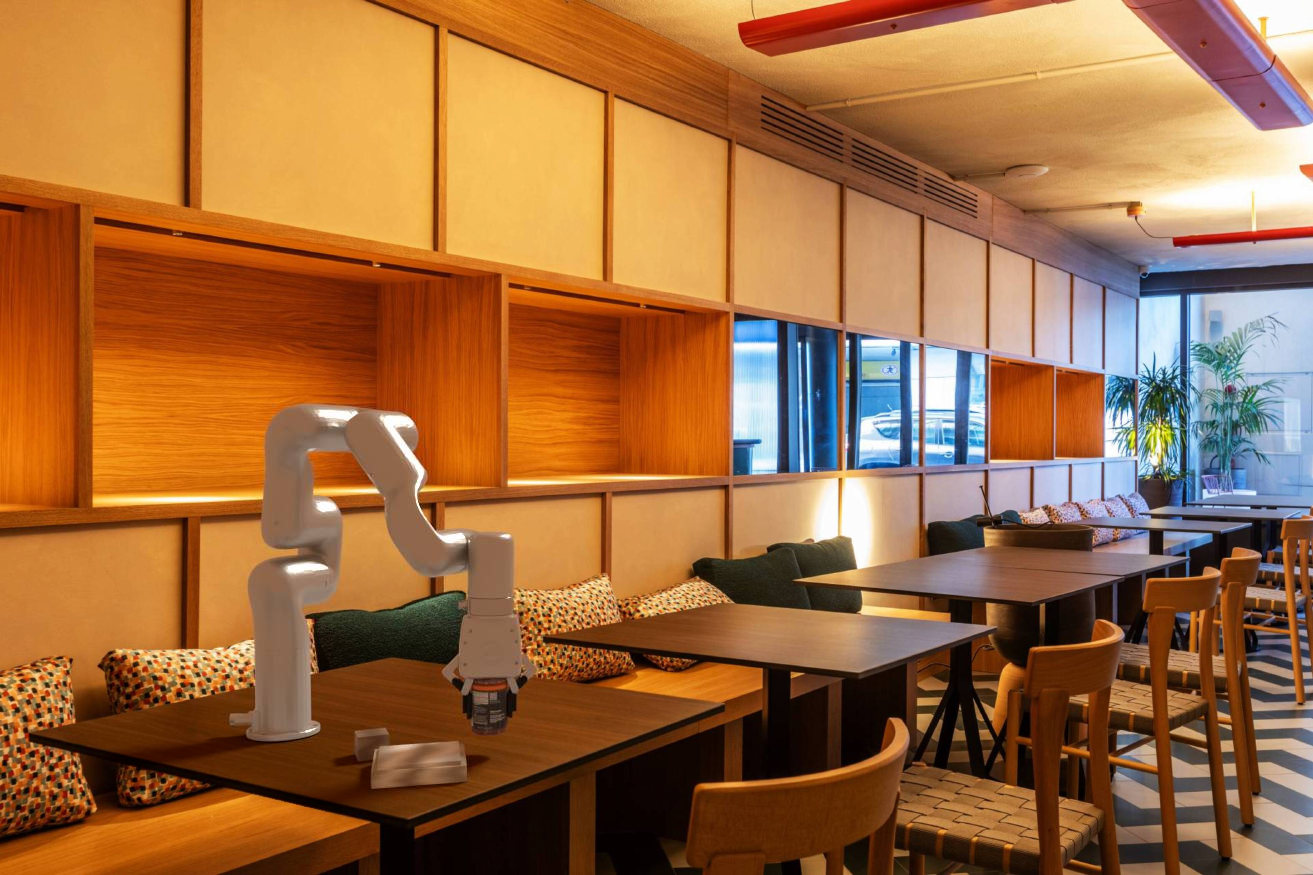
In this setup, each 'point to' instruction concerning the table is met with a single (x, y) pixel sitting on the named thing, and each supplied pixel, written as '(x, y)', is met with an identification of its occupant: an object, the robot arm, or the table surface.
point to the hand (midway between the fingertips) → (489, 715)
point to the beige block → (369, 742)
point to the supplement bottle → (489, 706)
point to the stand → (418, 764)
